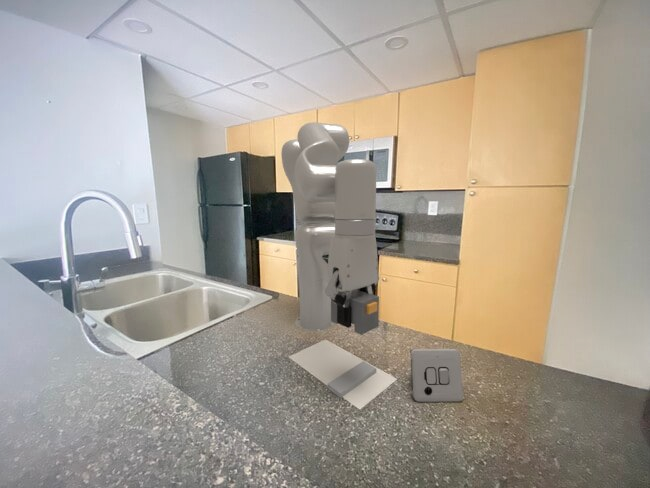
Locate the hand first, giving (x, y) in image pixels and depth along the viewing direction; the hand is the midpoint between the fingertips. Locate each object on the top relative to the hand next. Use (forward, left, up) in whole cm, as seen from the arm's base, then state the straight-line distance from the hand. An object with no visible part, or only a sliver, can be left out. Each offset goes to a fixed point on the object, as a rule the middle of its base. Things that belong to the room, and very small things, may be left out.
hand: (354, 319), depth 52 cm
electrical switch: (-10, +12, -15) cm, 21 cm away
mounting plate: (-1, -5, -14) cm, 15 cm away
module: (0, 0, -1) cm, 1 cm away
